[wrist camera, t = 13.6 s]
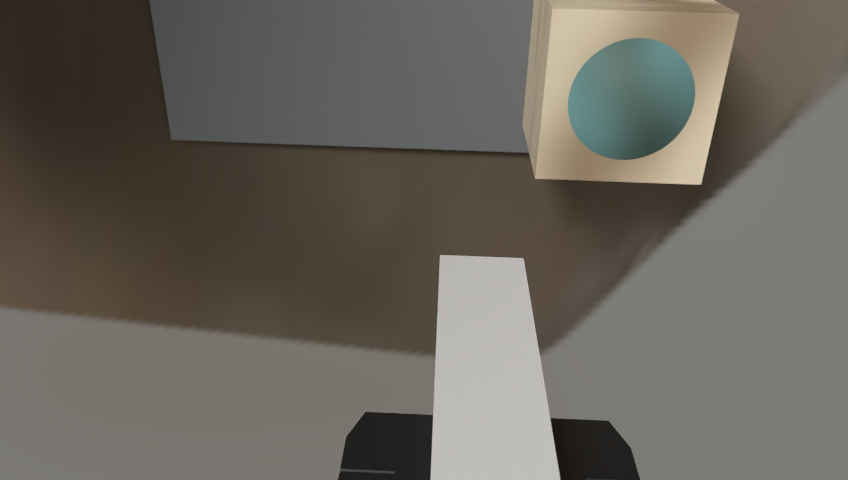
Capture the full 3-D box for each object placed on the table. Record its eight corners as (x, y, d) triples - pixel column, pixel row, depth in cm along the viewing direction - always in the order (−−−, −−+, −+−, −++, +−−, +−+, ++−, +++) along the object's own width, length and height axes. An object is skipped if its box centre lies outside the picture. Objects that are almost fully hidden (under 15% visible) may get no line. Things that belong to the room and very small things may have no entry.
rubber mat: (174, 137, 38) (171, 140, 37) (142, -65, 33) (139, -64, 33) (652, 154, 37) (654, 157, 37) (690, -51, 32) (693, -50, 32)
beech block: (701, 184, 30) (659, 129, 36) (739, 14, 26) (686, -15, 33) (535, 178, 30) (522, 124, 36) (552, 8, 27) (535, -19, 33)
